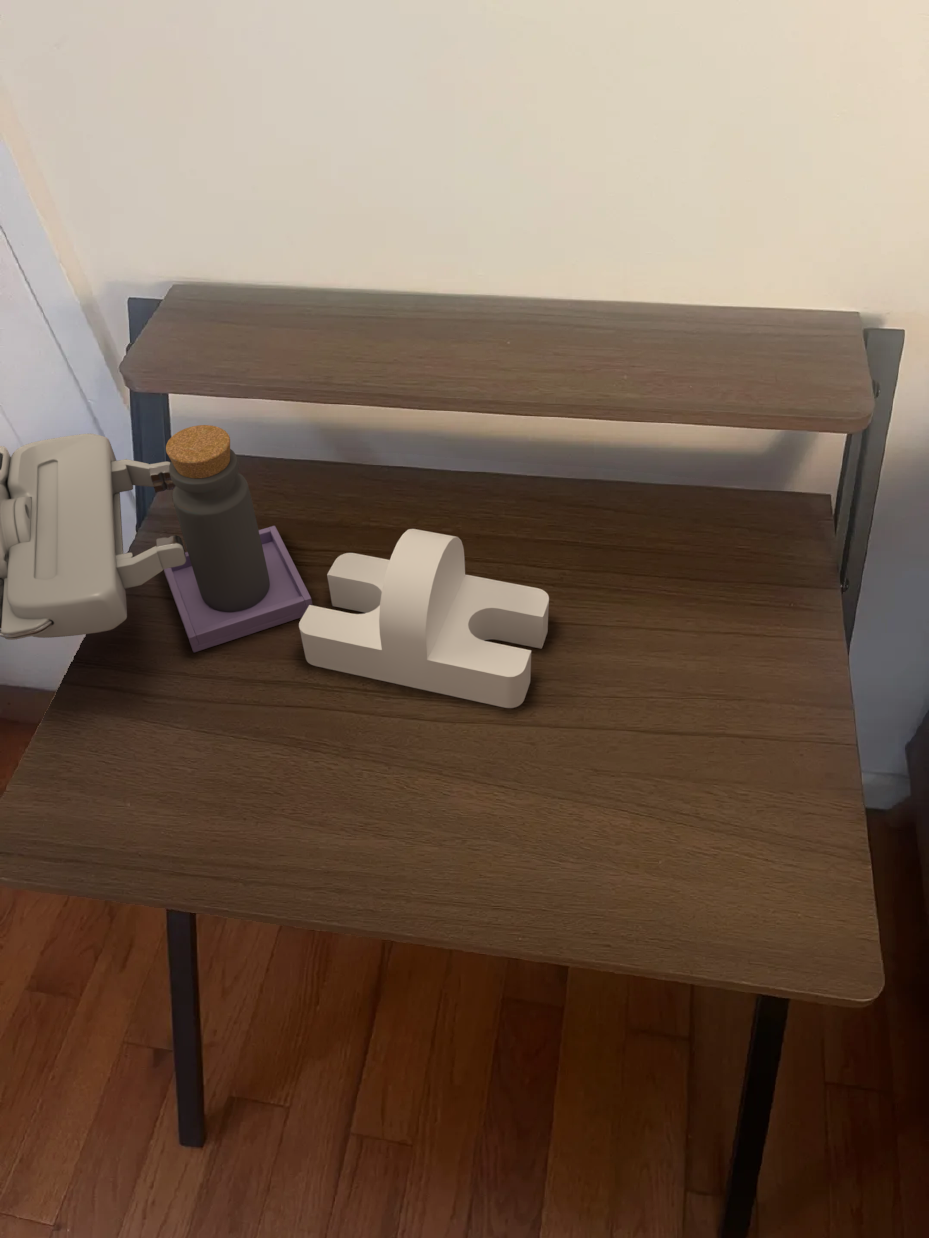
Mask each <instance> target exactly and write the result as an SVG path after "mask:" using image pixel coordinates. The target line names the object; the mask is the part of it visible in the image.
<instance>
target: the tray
mask: <svg viewBox="0 0 929 1238" xmlns="http://www.w3.org/2000/svg"><path fill="white" fill-rule="evenodd" d="M258 530H259V534H260V539H261V543H262V547H263V552H264V556H265V561H266V565H267V570H268V575H269V581H270V586H269V590H268V592H267V594H266V595H265V597H264V598H263V599H262V600H261V601H260V602H258V603H257V604H256V605H254V606H252V607H250V608H247V609H244V610H242V611H235V612H224V611H218V610H215V609H213V608H211V607H209V606H208V605H207V604H206V603H205V602H204V600H203V599H202V596H201V594H200V591H199V588H198V584H197V581H196V578H195V575H194V571H193V568H192V565H191V561H190V558H189V554H188V551H185V556H186V562H185V564H183V565H181V566H176V567H172V568H167V569H163V572H164V575H165V578H166V581H167V583H168V586H169V589H170V591H171V594H172V597H173V600H174V603H175V605H176V609H177V612H178V615H179V617H180V620H181V622H182V625H183V627H184V630H185V633H186V636H187V638H188V641H189V645H190V647H191V650H192V652H193V653H197V652H200V651H204V650H206V649H209V648H213V647H215V646H218V645H219V646H220V645H221V644H225V643H228V642H230V641H234V640H237V639H240V638H242V637H243V638H244V637H246V636H250V635H252V634H255V633H258V632H261V631H265V630H267V629H271V628H273V627H277V626H279V625H283V624H286V623H289V622H292V621H295V620H298V619H302V617H303V615H304V613H305V612H306V610H307V608H308V606H309V605H312V606H314V605H313V600H312V597H311V595H310V593H309V591H308V588H307V587H306V584H305V583H304V581H303V579H302V577H301V575H300V573H299V571H298V569H297V567H296V565H295V563H294V561H293V559H292V557H291V555H290V553H289V551H288V549H287V546H286V544H285V542H284V541H283V539H282V537H281V534H280V533H279V531H278V529H277V526H276V525H271V526H269V527H265V528H262V529H258Z"/></svg>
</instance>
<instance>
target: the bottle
mask: <svg viewBox="0 0 929 1238" xmlns="http://www.w3.org/2000/svg"><path fill="white" fill-rule="evenodd" d="M165 453H166V454H167V456H168V458H169V460H170V465H169V472H170V476H171V479H172V481H173V483H174V484H175V486H176V487H175V488H174V489H173V491H172V495H171V496H172V502H173V506H174V510H175V515H176V517H177V520H178V525H179V528H180V531H181V534H182V537H183V540H184V544H185V548H186V550H187V551H186V552H188V554H189V558H190V561H191V565H192V568H193V571H194V575H195V578H196V581H197V584H198V588H199V591H200V594H201V596H202V599H203V600H204V602H205V603H206V604H207V605H208V606H209V607H211V608H213V609H215V610H218V611H224V612H235V611H242V610H244V609H247V608H250V607H252V606H254V605H256V604H257V603H258V602H260V601H261V600H262V599H263V598H264V597H265V595H266V594H267V592H268V590H269V586H270V581H269V575H268V570H267V565H266V561H265V556H264V552H263V547H262V543H261V539H260V534H259V530H260V529H259V525H258V521H257V517H256V513H255V507H254V505H253V500H252V499H253V498H252V495H251V491H250V487H249V483H248V482H247V479H246V478H245V477H244V475H243V474H241V473H240V472H239V470H240V466H239V465H240V464H239V460H238V456H237V454H236V453H235V451H234V450H233V449H231V437H230V435H229V433H228V432H227V431H226V430H225V429H223V428H221V427H218V426H216V425H209V424H199V425H193V426H189V427H186V428H183V429H180V430H179V431H177V432H176V433H174V434H173V435H172V436H171V437H170V438H169V439H168V440H167V443H166V445H165Z"/></svg>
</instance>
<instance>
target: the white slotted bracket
mask: <svg viewBox="0 0 929 1238" xmlns="http://www.w3.org/2000/svg"><path fill="white" fill-rule="evenodd" d="M465 558H466V557H465V547H464V545H463V542H462V539H460V537H459V536H455V535H451V534H444V533H439V532H433V531H428V530H424V529H423V530H422V529H418V528H417V529H416V528H408V529H407V530H405V532H403V533H402V535H401V536H400V538H399V539H398V540H397V542H396V544H395V547H394V548H393V551H392V553H391V555H390V559H387V558H382V557H377V556H372V555H365V554H361V553H355V552H346V553H345V552H344V553H343V554H340V555H338V556H337V558H335V560H334V562H333V563H332V565H331V567H330V568H329V570H328V572H327V574H326V577H327V578H326V579H327V583H328V590H329V595H330V601H331V606H332V607H335V608H340V609H344V610H350V611H355V612H360V613H350V612H346V611H341V610H336V609H331V608H328V607H327V608H326V607H322V606H317V605H313V604H312V605H313V606H312V605H309V606H308V608H307V610H306V612H305V613H304V615H303V617H301V618H300V619H299V620H300V621H299V623H298V628H299V632H300V634H299V635H300V638H301V643H302V647H303V651H304V658H305V661H306V662H307V663H308V664H309V665H311V666H314V667H319V668H323V669H326V670H332V671H336V672H341V673H345V674H350V675H355V676H359V677H364V678H368V679H372V680H378V681H382V682H387V683H391V684H394V685H395V684H396V685H400V686H405V687H409V688H413V689H418V690H423V691H427V692H432V693H436V694H441V695H445V696H450V697H455V698H458V699H463V700H468V701H473V702H477V703H482V704H487V705H491V706H496V707H500V708H505V709H514V708H517V707H520V706H521V705H522V704H523V703H524V701H525V700H526V699H525V698H526V696H527V693H528V690H529V688H530V684H531V679H532V678H531V674H532V673H531V672H532V650H531V649H526V648H522V647H516V646H511V645H507V644H501V643H497V642H492V641H489V640H495V641H502V642H506V643H511V644H516V645H521V646H527V647H530V648H536V649H539V650H540V649H541V650H542V649H543V646H544V643H545V641H546V637H547V635H548V632H549V631H548V630H549V610H550V609H549V606H550V603H549V602H550V596H549V594H548V592H547V591H545V590H544V589H541V588H538V587H533V586H528V585H523V584H517V583H513V582H507V581H501V580H498V579H497V580H496V579H491V578H486V577H481V576H476V575H471V574H466V560H465Z"/></svg>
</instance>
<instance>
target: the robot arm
mask: <svg viewBox="0 0 929 1238" xmlns="http://www.w3.org/2000/svg"><path fill="white" fill-rule="evenodd" d="M170 463H171V461H161V462H156V463H155V462H154V463H150V464H149V463H146V462H142V461H138V460H133V459H127V458H124V459H119V460H117V459H116V455H115V452H114V449H113V447H112V443H111V441H110V439H109V438H108V437H106V436H103V435H100V434H96V433H80V434H73V435H65V436H60V437H53V438H48V439H42V440H38V441H33V442H30V443H26V444H24V445H22V446H20V447H18V448H17V449H15V450H14V451H13V453H12V454H10V452H9V450H8V448H7V447H6V446H4V445H0V637H1V638H4V639H5V640H8V641H15V640H19V639H24V638H29V637H33V638H43V639H48V638H63V637H64V638H65V637H73V636H84V635H90V634H97V633H103V632H107V631H112V630H114V629H116V628H117V627H118V626H120V625H121V624H123V622H125V621H126V620H127V619H128V608H127V590H126V589H129V588H135V587H140V586H143V584H146V582H148V581H150V580H151V579H153V578H154V577H155V576H157V575H159V574H160V573H161V572H164V569H167V568H172V567H176V566H181V565H183V564H185V562H186V556H185V552H186V551H185V546H184V543H183V539H182V537H181V536H180V535H171V536H169V537H166V536H165V537H158V538H156V539H155V543H156V545H155V546H153V547H150V548H149V549H147V550H145V551H143V552H141V553H139V554H136V555H135V556H134V554H133V552H131V551H130V552H124V540H123V526H122V525H123V524H122V523H123V522H122V507H121V506H122V505H121V493H124V492H129V491H133V490H134V486H137V487H138V486H139V487H147V488H153V489H154V492H155V494H156V493H161V492H165V491H172V490H174V488H175V487H176V486H175V484H174V483H173V481H172V479H171V476H170V472H169V465H170Z"/></svg>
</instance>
